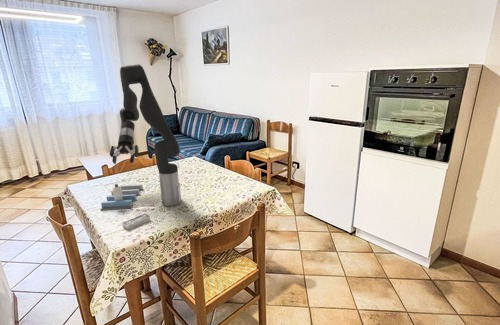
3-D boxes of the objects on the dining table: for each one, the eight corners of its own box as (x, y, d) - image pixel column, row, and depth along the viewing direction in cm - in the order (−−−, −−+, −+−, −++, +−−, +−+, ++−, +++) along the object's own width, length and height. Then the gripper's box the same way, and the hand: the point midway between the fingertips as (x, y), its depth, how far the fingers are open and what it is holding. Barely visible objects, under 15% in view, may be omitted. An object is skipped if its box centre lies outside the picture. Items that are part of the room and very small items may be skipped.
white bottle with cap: (124, 200, 140) (121, 182, 136) (122, 204, 136) (119, 185, 133) (116, 201, 139) (113, 183, 136) (114, 204, 135) (110, 186, 132)
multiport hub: (122, 227, 117) (121, 222, 117) (145, 217, 125) (145, 213, 125) (127, 230, 115) (126, 226, 114) (150, 220, 123) (150, 216, 122)
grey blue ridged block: (143, 188, 157) (142, 183, 156) (130, 209, 133) (129, 202, 132) (118, 190, 156) (117, 184, 155) (100, 210, 131) (99, 204, 130)
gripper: (110, 134, 147) (106, 160, 140) (137, 133, 149) (134, 159, 141) (115, 141, 154) (111, 166, 146) (141, 140, 156) (138, 165, 148)
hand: (122, 163), depth 144 cm, fingers open, 8 cm apart
